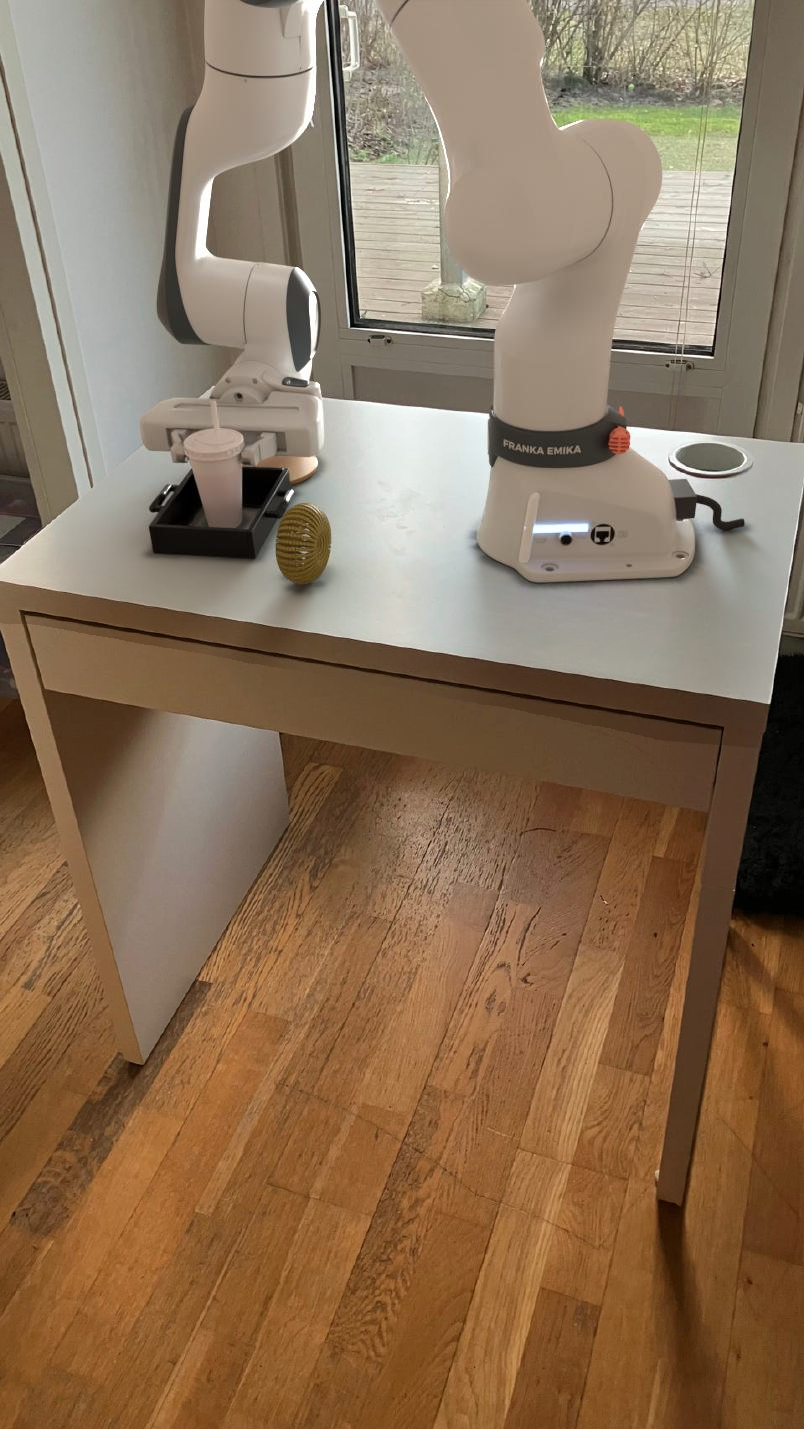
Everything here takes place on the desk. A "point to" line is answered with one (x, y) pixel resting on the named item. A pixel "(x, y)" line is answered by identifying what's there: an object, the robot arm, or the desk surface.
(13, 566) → the desk surface
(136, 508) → the desk surface
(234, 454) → the smoothie
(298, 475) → the cork pad
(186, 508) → the pan
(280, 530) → the sculpture
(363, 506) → the desk surface
